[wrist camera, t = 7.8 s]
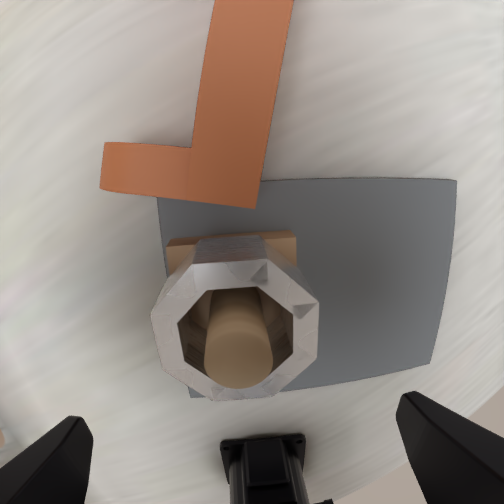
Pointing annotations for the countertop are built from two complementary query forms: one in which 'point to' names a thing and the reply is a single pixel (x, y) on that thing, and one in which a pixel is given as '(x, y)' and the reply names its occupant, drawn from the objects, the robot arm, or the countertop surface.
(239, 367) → the tan stamp
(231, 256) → the collar
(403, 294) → the mat
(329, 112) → the countertop surface
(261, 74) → the crank
